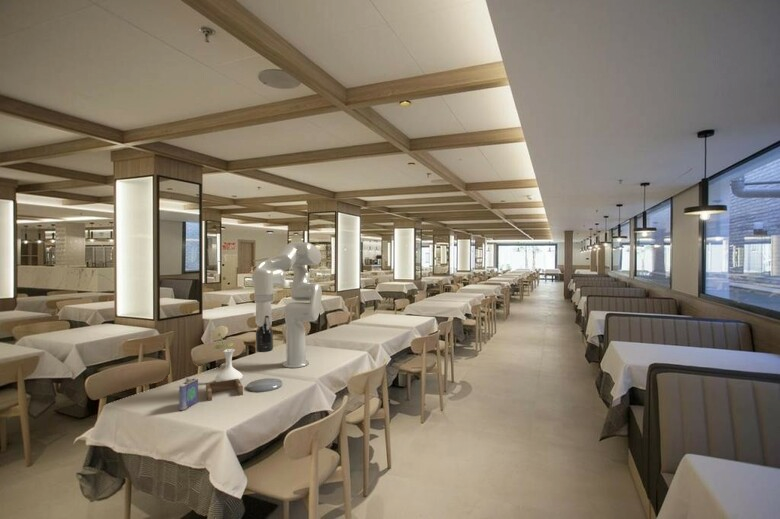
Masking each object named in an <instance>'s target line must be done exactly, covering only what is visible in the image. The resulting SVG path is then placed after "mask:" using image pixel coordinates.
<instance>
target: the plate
mask: <svg viewBox="0 0 780 519" xmlns="http://www.w3.org/2000/svg"><path fill="white" fill-rule="evenodd" d="M282 386H283V381H282V380H281V379H279V378H275V377H274V378H260V379H256V380H253V381H250V382H248V384H246V387H247V388H246V389H247V390H248V391H249V390H250V391H249V392H252V391H253V392H255V393H265V392H272V391H274V390H278V389H279V388H281V387H282Z"/></svg>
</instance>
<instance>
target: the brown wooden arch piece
mask: <svg viewBox="0 0 780 519" xmlns="http://www.w3.org/2000/svg"><path fill="white" fill-rule="evenodd" d="M233 388H234V389H237V390H236V391H237V394H238V395H239V396H243V395H244V390H243V389H244V386H243V384H242V382H241V380H239V379H233V380H226V381H220V382H216V381H214V382H208V383H205V394H206V398H207V400H208V402H210V401H213V394H212V393H216V392H221V391H228V390H233ZM227 389H228V390H227Z"/></svg>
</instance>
